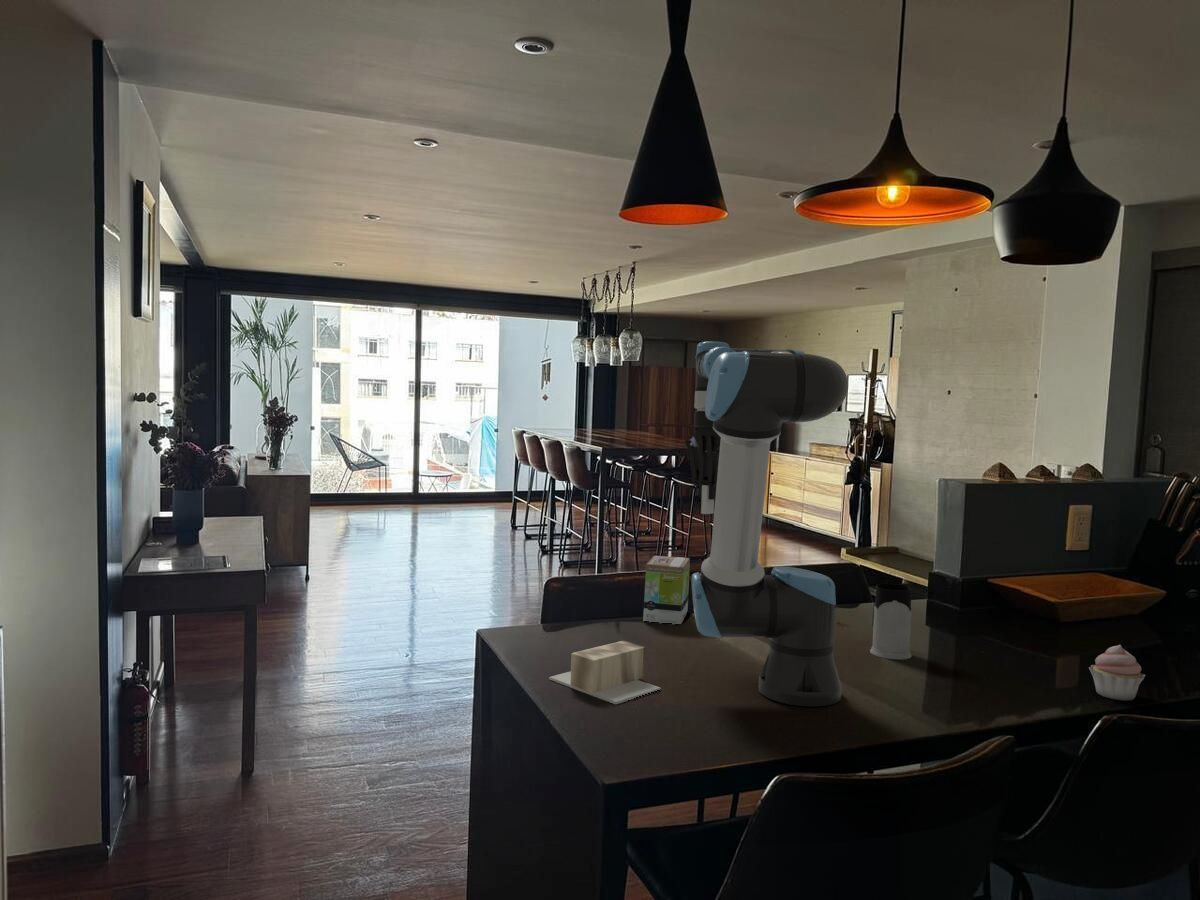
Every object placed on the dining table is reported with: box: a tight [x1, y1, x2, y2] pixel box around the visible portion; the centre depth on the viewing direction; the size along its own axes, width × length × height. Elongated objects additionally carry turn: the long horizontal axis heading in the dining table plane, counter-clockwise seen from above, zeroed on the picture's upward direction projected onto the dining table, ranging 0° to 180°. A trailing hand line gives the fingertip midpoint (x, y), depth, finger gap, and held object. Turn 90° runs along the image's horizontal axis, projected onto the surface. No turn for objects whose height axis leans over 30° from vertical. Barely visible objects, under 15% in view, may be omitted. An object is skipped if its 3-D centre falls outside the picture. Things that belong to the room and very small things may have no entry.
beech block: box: [570, 640, 646, 693], centre depth 160 cm, size 6×6×14 cm
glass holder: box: [869, 583, 913, 660], centre depth 189 cm, size 9×14×15 cm, turn 166°
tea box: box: [642, 555, 691, 625], centre depth 214 cm, size 15×10×15 cm
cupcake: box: [1088, 644, 1146, 701], centre depth 161 cm, size 9×9×10 cm
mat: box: [548, 670, 661, 705], centre depth 159 cm, size 18×12×1 cm, turn 44°
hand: (707, 513), depth 192 cm, fingers closed
